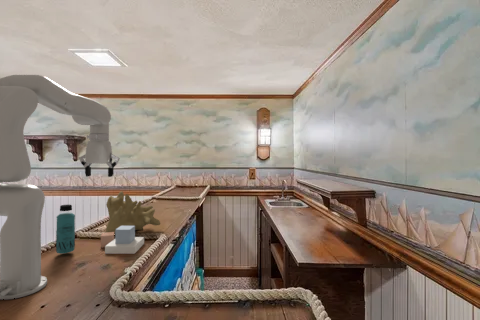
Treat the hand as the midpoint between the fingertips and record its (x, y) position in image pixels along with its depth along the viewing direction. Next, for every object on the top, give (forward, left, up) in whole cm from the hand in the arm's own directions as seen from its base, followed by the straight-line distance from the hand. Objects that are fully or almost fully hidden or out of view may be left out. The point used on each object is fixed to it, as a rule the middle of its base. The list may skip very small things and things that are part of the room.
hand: (99, 176), depth 120 cm
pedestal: (-6, -14, -30) cm, 34 cm away
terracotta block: (-2, -5, -30) cm, 31 cm away
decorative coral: (+18, -8, -31) cm, 36 cm away
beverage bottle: (-13, +7, -31) cm, 34 cm away
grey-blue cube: (-6, -14, -27) cm, 31 cm away
